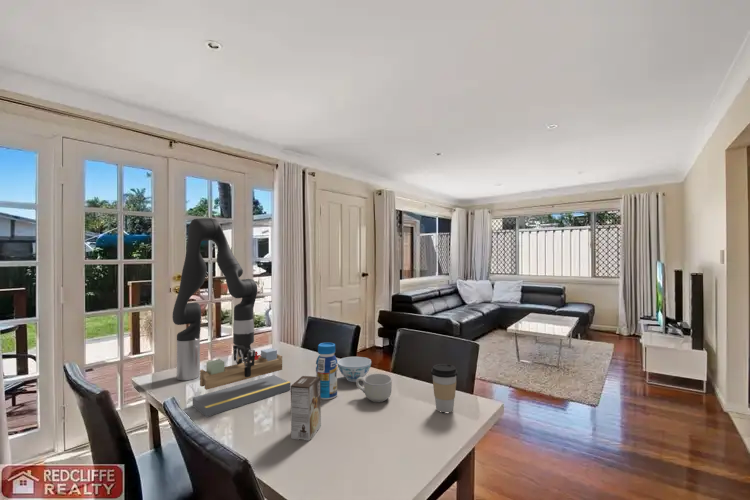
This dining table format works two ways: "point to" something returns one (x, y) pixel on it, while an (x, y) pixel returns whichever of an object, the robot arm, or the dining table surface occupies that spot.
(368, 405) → the dining table surface
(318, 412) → the coffee box
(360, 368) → the chinaware
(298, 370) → the dining table surface
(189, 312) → the robot arm
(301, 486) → the dining table surface
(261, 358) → the long wooden trough
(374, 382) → the teacup
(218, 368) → the block
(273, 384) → the plate
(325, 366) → the beverage bottle
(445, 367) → the coffee cup
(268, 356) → the pale blue block
